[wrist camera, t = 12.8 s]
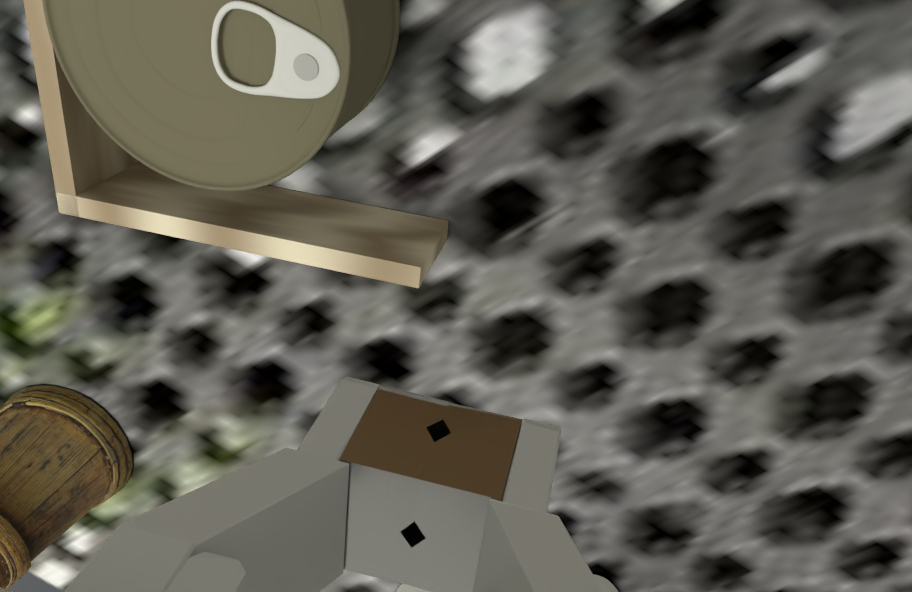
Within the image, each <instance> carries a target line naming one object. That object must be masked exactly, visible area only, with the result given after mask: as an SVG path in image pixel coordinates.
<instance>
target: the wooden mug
mask: <svg viewBox="0 0 912 592" xmlns="http://www.w3.org/2000/svg"><path fill="white" fill-rule="evenodd" d="M132 467H133V464H132V452H131V450H130V447H129V444H128V442H127V439H126V437H125V436H124V434H123V433H122V431H121V430H120V428H119V427H118V425H117V424H116V422H115V421H114V420H113V419H112V418H111V417H110V416H109V415H108V414H107V413H106V412H105V411H104V410H103V409H102V408H101V407H99V406H98V405H97V404H95V403H94V402H93V401H92V400H90V399H89V398H87V397H85V396H83V395H81V394H79V393H77V392H75V391H73V390H69V389H65V388H61V387H57V386H42V385H40V386H32V387H25V388H23V389H22V390H20V391H18V392H16V393H15V394H13V395H12V396H11V397H10V398H9V399H8V400H7V402H6V403H5V404H4V405H3V406H2V407H1V408H0V588H4V589H7V588H8V587H10V586H11V585H12V584H14V583H15V582H16V581H18V580H19V579H20V578H22V577H23V576H24V575H25V574H26V573H27V571H28V570H29V568H30V567H31V561H32V560H33V559H34V558H35V557H36V556H38V555H39V554H40V553H41V552H42V551H43V550H44V549H45V548H47V547H48V546H49V545H50V544H51V543H52V542H54V541H55V540H56V539H57V538H58V537H59V536H61V535H62V534H63V533H64V532H65V531H66V530H67V529H69V528H70V527H71V526H72V525H73V524H74V523H76V522H77V521H78V520H79V519H80V518H81V517H83V516H84V515H85V514H86V513H87V512H88V511H90V510H91V509H92V508H95V507H98V506H99V505H101V504H102V503H103V502H105V501H106V500H108V499H109V498H110V497H112V496H113V495H114V494H116V493H117V492H118V491H120V490H121V489H122V488H124V486H125V484H126V483H127V481H128V479H129V478H130V475H131V471H132Z"/></svg>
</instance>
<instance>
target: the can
mask: <svg viewBox="0 0 912 592" xmlns="http://www.w3.org/2000/svg"><path fill="white" fill-rule="evenodd" d="M42 2H43V9H44V15H45V20H46V25H47V28H48V32H49V36H50V39H51V42H52V45H53V48H54V51H55V54H56V56H57V59H58V61H59V63H60V66H61V68H62V70H63V72H64V74H65V76H66V78H67V80H68V82H69V84H70V86H71V87H72V89H73V91H74V92H75V94H76V96H77V97H78V99H79V100H80V102H81V103H82V105H83V106H84V107H85V109H86V110H87V112H88V113H89V114H90V115H91V117H92V118H93V119H94V120H95V122H96V123H97V124H98V125H99V126H100V127H101V128H102V129H103V131H104V132H105V133H106V134H107V135H108V136H109V137H110V138H111V139H112V140H113V141H115V142H116V143H117V144H118V145H119V146H120V147H121V148H122V149H124V150H125V151H126V152H127V153H129V154H130V155H131V156H132V157H134V158H135V159H137V160H138V161H140V162H141V163H143V164H144V165H146V166H147V167H149V168H151V169H153V170H154V171H156V172H158V173H160V174H162V175H164V176H166V177H168V178H171V179H173V180H175V181H178V182H181V183H184V184H187V185H190V186H194V187H198V188H203V189H209V190H217V191H242V190H248V189H255V188H258V187H262V186H266V185H269V184H271V183H274V182H277V181H279V180H281V179H283V178H285V177H287V176H289V175H290V174H292V173H293V172H295V171H296V170H298V169H299V168H301V167H302V166H303V165H304V164H305V163H307V162H308V161H309V160H310V159H311V158H312V157H313V156H314V155H315V154H316V153H317V152H318V151H319V150H320V149H321V148H322V146H323V145H324V144H325V143H326V141H327V140H328V138H329V137H330V136H332V135H333V134H334V133H335V132H336V131H338V130H339V129H340V128H341V127H342V126H344V125H345V124H346V123H347V122H348V121H350V120H351V119H352V118H354V117H355V116H356V115H357V114H359V113H360V112H361V111H362V110H363V109H364V108H365V107H366V106H367V105H368V104H369V103H370V102H371V101H372V99H373V98H374V97H375V95H376V94H377V93H378V91H379V90H380V88H381V86H382V85H383V83H384V81H385V80H386V77H387V75H388V73H389V71H390V68H391V66H392V63H393V60H394V57H395V53H396V49H397V44H398V38H399V30H400V1H399V0H42Z"/></svg>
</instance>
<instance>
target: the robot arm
mask: <svg viewBox="0 0 912 592" xmlns="http://www.w3.org/2000/svg"><path fill="white" fill-rule="evenodd" d="M521 424H522V426H521ZM560 435H561V429H560V426H557V425H552V424H547V423H542V422H537V421H533V420H528V419H523V422H522V419H518V418H513V417H509V416H505V415H500V414H496V413H492V412H487V411H483V410H479V409H474V408H470V407H465V406H461V405H457V404H451V403H450V402H446V401H442V400H438V399H434V398H431V397H427V396H423V395H419V394H415V393H411V392H407V391H403V390H399V389H396V388H392V387H388V386H384V385H382V386H380V385H378V384H375V383H370V382H366V381H362V380H358V379H354V378H350V377H346V378H345V379H343V380H342V381H340V382H339V384H338V385H337V387H336V389H335V390H334V392H333V393H332V395H331V397H330V398H329V400H328V401H327V403H326V405H325V406H324V408H323V409H322V411H321V413H320V414H319V416H318V417H317V419H316V421H315V422H314V424H313V425H312V427H311V429H310V430H309V432H308V433H307V435H306V436H305V438H304V440H303V441H302V443H301V444H300V446H299V448H298V449H297V450H293V449H289V448H285V449H283V450H281V451H279V452H276V453H274V454H272V455H270V456H268V457H266V458H263V459H261V460H259V461H257V462H255V463H252V464H250V465H248V466H246V467H244V468H242V469H239V470H237V471H235V472H233V473H231V474H229V475H226V476H224V477H222V478H220V479H218V480H215V481H213V482H211V483H209V484H207V485H205V486H202V487H200V488H198V489H196V490H194V491H191V492H189V493H187V494H185V495H183V496H181V497H178V498H176V499H174V500H172V501H170V502H167V503H165V504H163V505H161V506H159V507H157V508H154V509H152V510H150V511H148V512H146V513H144V514H141V515H139V516H137V517H135V518H133V519H130V520H128V521H126V522H124V523H122V524H120V525H119V526H118V527H117V528H116V530H115V531H114V532H113V533H112V534H111V536H110V537H109V538H108V539H107V540H106V542H105V543H104V544H103V545H102V546H101V548H100V549H99V550H98V551H97V552H96V554H95V555H94V556H93V557H92V559H91V560H90V561H89V562H88V563H87V565H86V566H85V567H84V568H83V569H82V571H81V572H80V573H79V574H78V575H77V577H76V578H75V579H74V580H73V581H72V583H71V584H70V585H69V586H68V587H67V589H66V590H65V591H64V592H319V591H321V590H322V589H323V588H325V587H326V586H327V585H329V584H330V583H331V582H332V581H334V580H335V579H336V578H338V577H339V576H340V575H342V574H343V569H344V570H348V571H352V572H356V573H361V574H365V575H369V576H373V577H377V578H381V579H386V580H390V581H394V582H398V583H402V584H401V585H400V586H399V588H398V589H397V591H396V592H618V590H617V589H616V588H615V587H614V585H613V584H612V583H611V582H610V581H609V580H607V579H606V578H604V577H601V576H598V575H594V574H592V572H591V570H590V569H589V567H588V565H587V564H586V562H585V560H584V559H583V557H582V555H581V553H580V552H579V550H578V548H577V547H576V545H575V543H574V542H573V540H572V538H571V537H570V535H569V533H568V531H567V530H566V528H565V526H564V525H563V523H562V521H561V520H560V518H559V516H557V515H553V514H549V513H547V511H548V505H549V499H550V493H551V488H552V482H553V476H554V470H555V464H556V458H557V453H558V447H559V441H560ZM0 592H14V591H10V590H7V589H4V588H0Z"/></svg>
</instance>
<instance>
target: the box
mask: <svg viewBox="0 0 912 592" xmlns="http://www.w3.org/2000/svg"><path fill="white" fill-rule="evenodd" d="M23 1H24V6H25V12H26V18H27V24H28V30H29V36H30V42H31V48H32V54H33V60H34V66H35V71H36V77H37V83H38V89H39V95H40V101H41V107H42V113H43V119H44V125H45V131H46V137H47V142H48V148H49V154H50V160H51V166H52V172H53V178H54V184H55V190H56V196H57V202H58V208H59V213H63V214H68V215H73V216H77V217H82V218H87V219H92V220H96V221H101V222H106V223H111V224H115V225H120V226H125V227H130V228H134V229H139V230H144V231H149V232H153V233H158V234H163V235H168V236H173V237H177V238H182V239H187V240H192V241H196V242H201V243H206V244H211V245H215V246H220V247H225V248H230V249H234V250H239V251H244V252H249V253H253V254H258V255H263V256H268V257H273V258H277V259H282V260H287V261H292V262H296V263H301V264H306V265H311V266H315V267H320V268H325V269H330V270H334V271H339V272H344V273H349V274H353V275H358V276H363V277H368V278H372V279H377V280H382V281H387V282H392V283H396V284H401V285H406V286H411V287H415V288H419V287H420V285H421V284H422V282H423V280H424V278H425V277H426V275H427V273H428V271H429V270H430V268H431V266H432V265H433V263H434V261H435V259H436V258H437V256H438V254H439V252H440V251H441V249H442V247H443V245H444V244H445V242H446V240H447V233H448V224H449V221H447V220H442V219H436V218H431V217H426V216H421V215H416V214H411V213H406V212H401V211H396V210H390V209H385V208H380V207H375V206H370V205H365V204H360V203H355V202H350V201H344V200H339V199H334V198H329V197H324V196H319V195H314V194H309V193H304V192H299V191H293V190H288V189H283V188H278V187H273V186H268V185H266V186H262V187H258V188H255V189H248V190H242V191H217V190H209V189H203V188H198V187H194V186H190V185H187V184H184V183H181V182H178V181H175V180H173V179H171V178H168V177H166V176H164V175H162V174H160V173H158V172H156V171H154V170H153V169H151V168H149V167H147V166H146V165H144V164H143V163H141V162H140V161H138V160H137V159H135V158H134V157H132V156H131V155H130V154H129V153H127V152H126V151H125V150H124V149H122V148H121V147H120V146H119V145H118V144H117V143H116V142H115V141H113V140H112V139H111V138H110V137H109V136H108V135H107V134H106V133H105V132H104V131H103V129H102V128H101V127H100V126H99V125H98V124H97V123H96V122H95V120H94V119H93V118H92V117H91V115H90V114H89V113H88V112H87V110H86V109H85V107H84V106H83V105H82V103H81V102H80V100H79V99H78V97H77V96H76V94H75V92H74V91H73V89H72V87H71V86H70V84H69V82H68V80H67V78H66V76H65V74H64V72H63V70H62V68H61V66H60V63H59V61H58V59H57V56H56V54H55V51H54V48H53V45H52V42H51V39H50V36H49V32H48V28H47V25H46V20H45V15H44V9H43V2H42V0H23Z"/></svg>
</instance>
